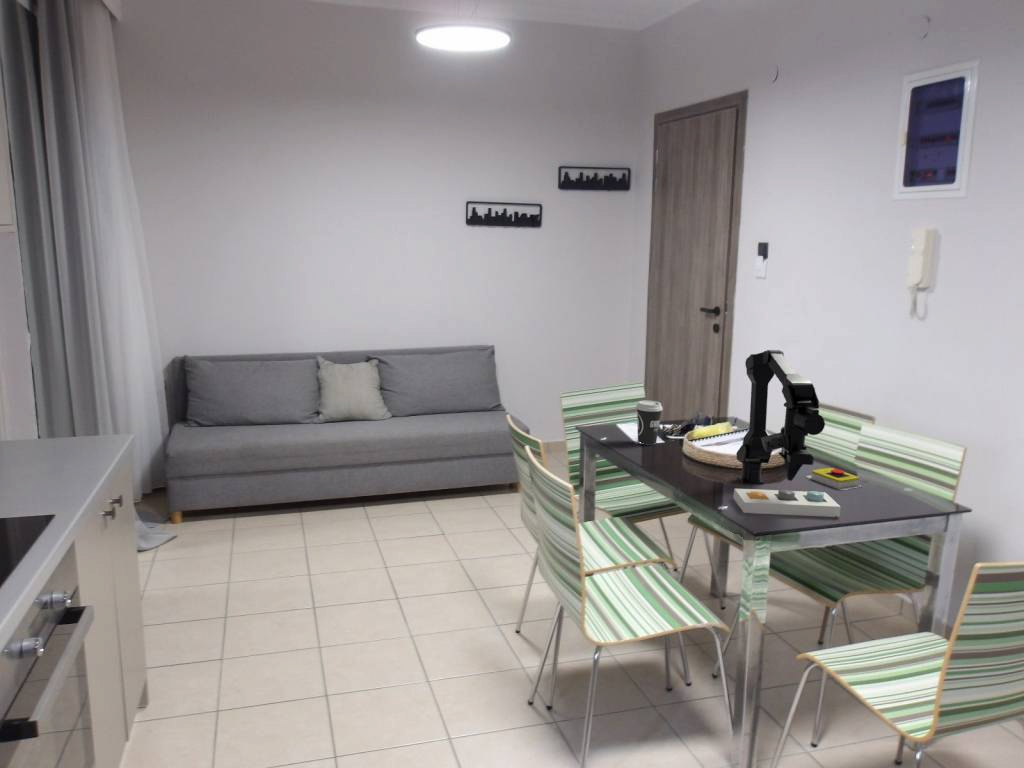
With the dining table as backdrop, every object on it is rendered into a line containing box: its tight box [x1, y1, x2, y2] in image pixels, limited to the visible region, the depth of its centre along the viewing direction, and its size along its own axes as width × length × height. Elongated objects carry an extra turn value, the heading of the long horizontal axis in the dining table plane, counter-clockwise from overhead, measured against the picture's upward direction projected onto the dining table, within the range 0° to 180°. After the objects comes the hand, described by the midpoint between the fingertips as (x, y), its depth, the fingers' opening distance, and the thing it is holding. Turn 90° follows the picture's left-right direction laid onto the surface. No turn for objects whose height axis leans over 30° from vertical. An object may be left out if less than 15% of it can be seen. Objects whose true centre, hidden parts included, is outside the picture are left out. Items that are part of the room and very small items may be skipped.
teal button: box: [806, 490, 824, 502], centre depth 223 cm, size 4×4×2 cm
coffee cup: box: [635, 400, 664, 444], centre depth 287 cm, size 10×10×15 cm
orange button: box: [749, 492, 766, 499], centre depth 224 cm, size 4×4×2 cm
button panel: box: [733, 488, 841, 518], centre depth 224 cm, size 12×26×3 cm, turn 88°
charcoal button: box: [778, 489, 795, 501], centre depth 224 cm, size 4×4×2 cm
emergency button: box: [805, 467, 862, 491], centre depth 249 cm, size 9×4×15 cm
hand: (789, 480), depth 223 cm, fingers closed
